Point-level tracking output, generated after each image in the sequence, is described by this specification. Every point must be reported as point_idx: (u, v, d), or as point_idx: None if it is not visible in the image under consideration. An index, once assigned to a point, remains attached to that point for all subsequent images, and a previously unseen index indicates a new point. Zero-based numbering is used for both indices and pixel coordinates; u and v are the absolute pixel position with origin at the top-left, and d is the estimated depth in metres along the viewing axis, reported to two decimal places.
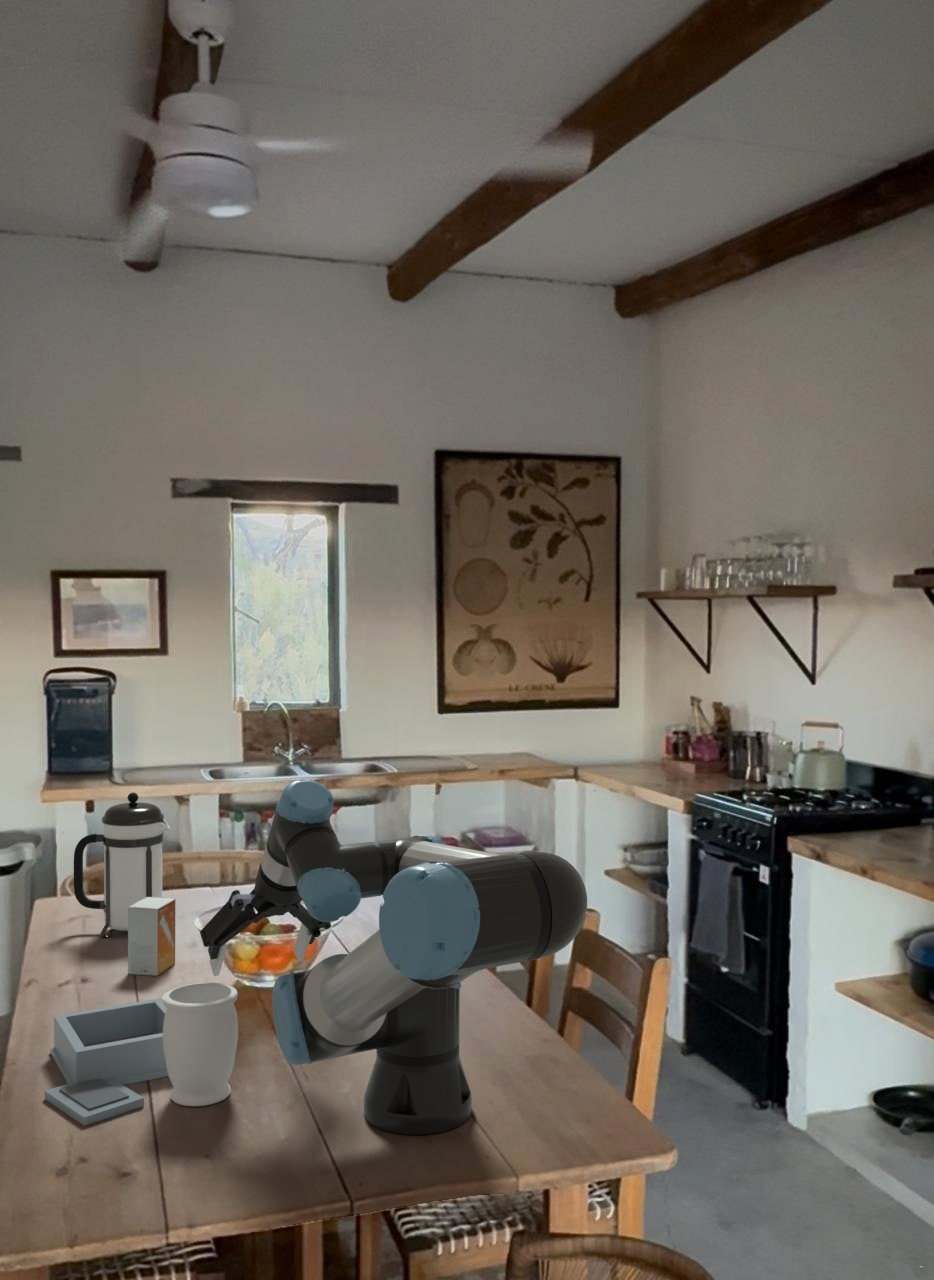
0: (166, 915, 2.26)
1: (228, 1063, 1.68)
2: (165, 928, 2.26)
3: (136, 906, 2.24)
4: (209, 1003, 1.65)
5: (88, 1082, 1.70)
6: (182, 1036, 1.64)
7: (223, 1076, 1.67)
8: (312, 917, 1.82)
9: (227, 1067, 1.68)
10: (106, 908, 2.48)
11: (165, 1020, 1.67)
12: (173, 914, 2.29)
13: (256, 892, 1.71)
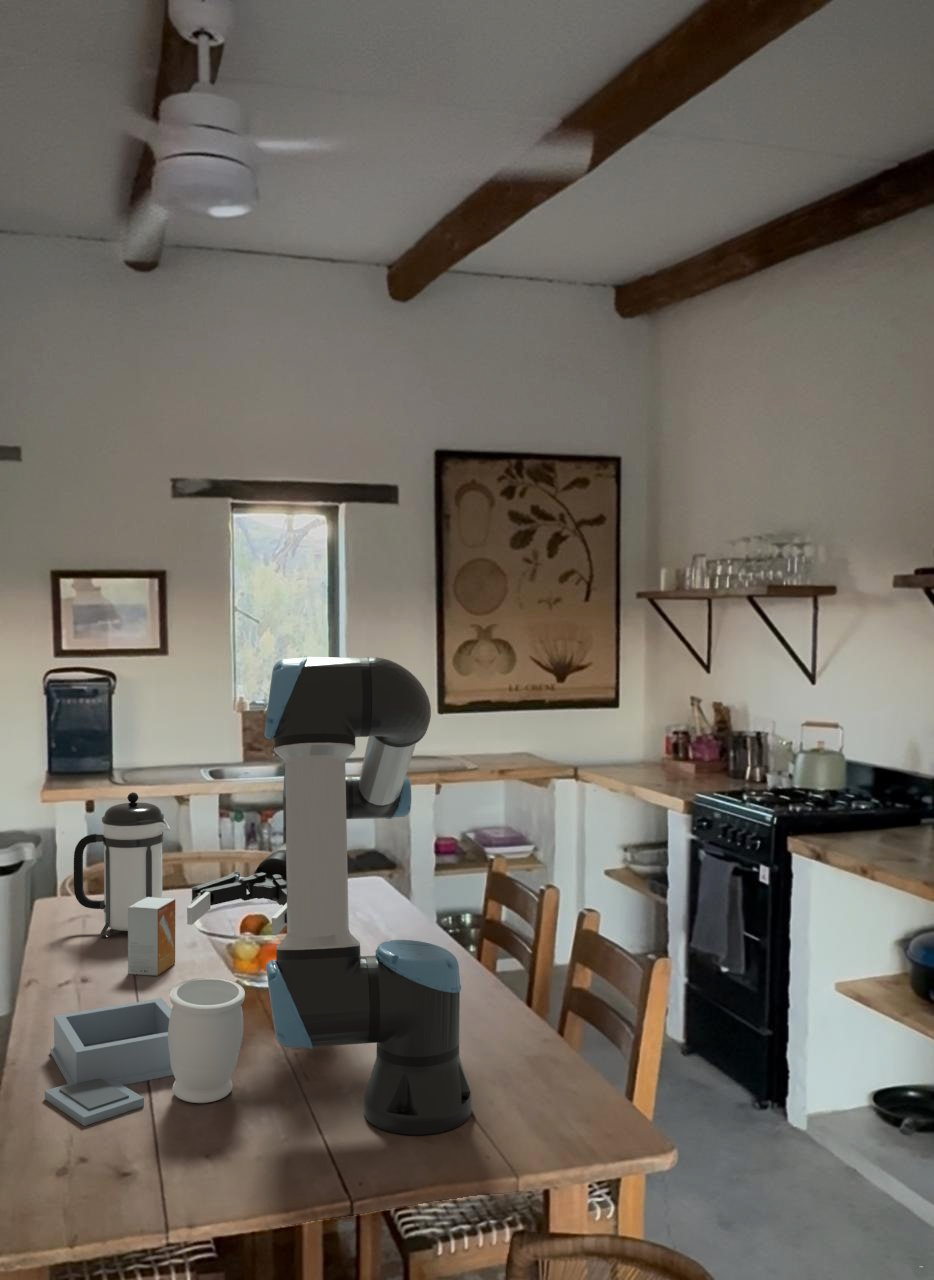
0: (166, 915, 2.26)
1: (232, 1063, 1.68)
2: (165, 928, 2.26)
3: (136, 906, 2.24)
4: (217, 1005, 1.65)
5: (88, 1082, 1.70)
6: (188, 1036, 1.64)
7: (226, 1075, 1.68)
8: None
9: (231, 1066, 1.68)
10: (106, 908, 2.48)
11: (171, 1017, 1.67)
12: (173, 914, 2.29)
13: None
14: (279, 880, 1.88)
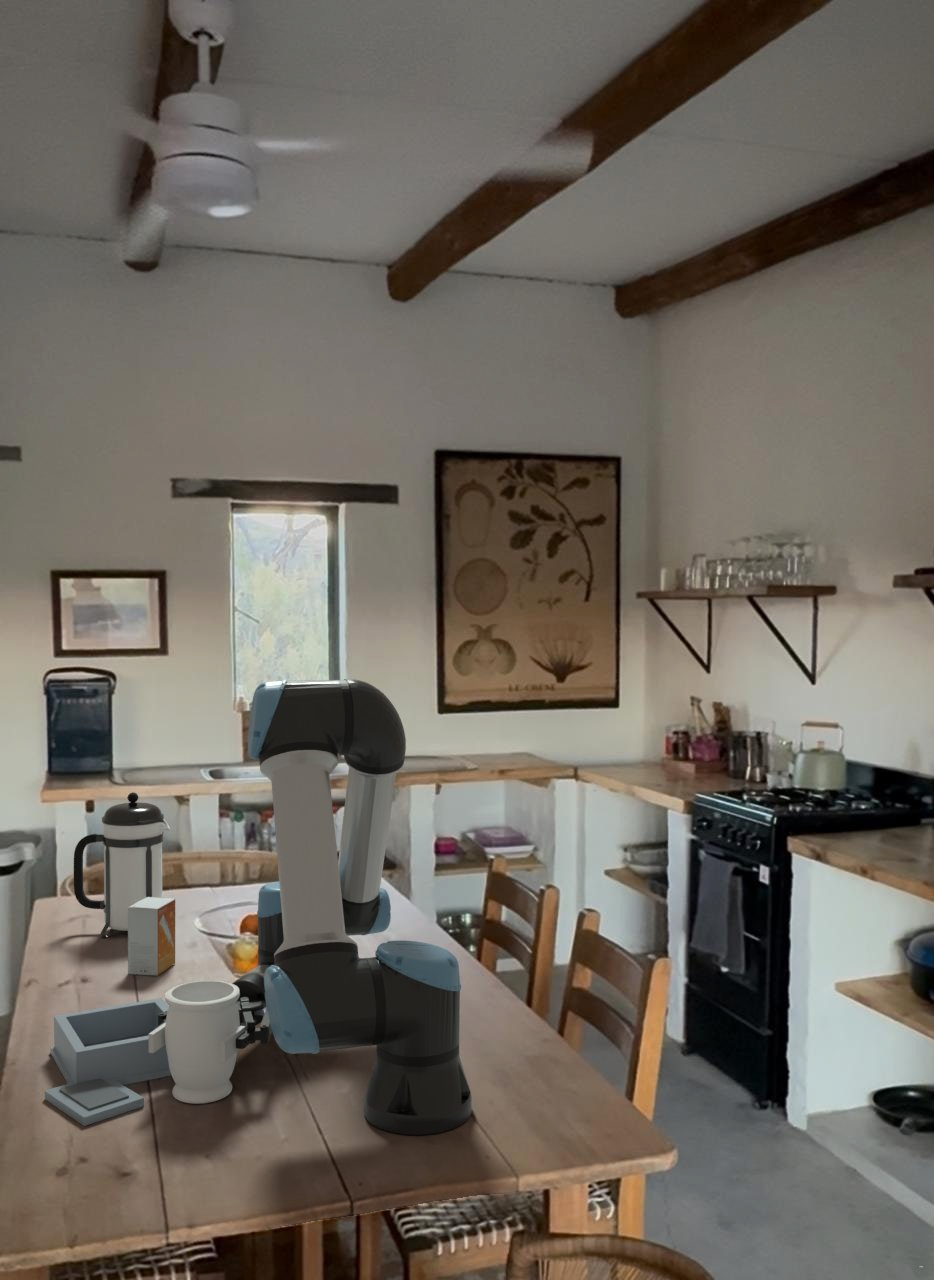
0: (166, 915, 2.26)
1: (228, 1062, 1.68)
2: (165, 928, 2.26)
3: (136, 906, 2.24)
4: (210, 1001, 1.66)
5: (88, 1082, 1.70)
6: (182, 1033, 1.65)
7: (223, 1074, 1.68)
8: None
9: (228, 1066, 1.68)
10: (106, 908, 2.48)
11: (167, 1017, 1.68)
12: (173, 914, 2.29)
13: None
14: (245, 1003, 1.79)
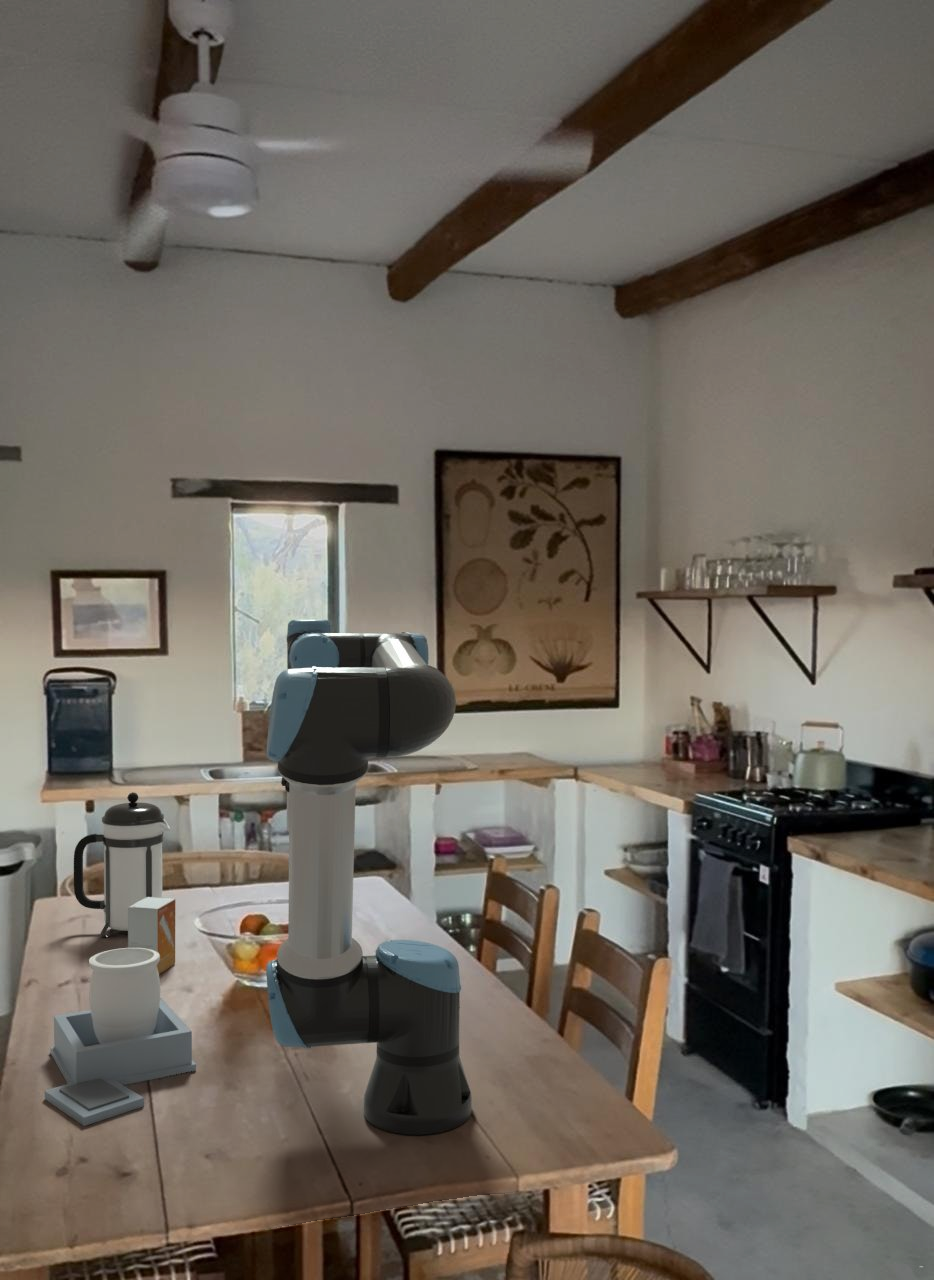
0: (166, 915, 2.26)
1: (148, 1022, 1.80)
2: (165, 928, 2.26)
3: (136, 906, 2.24)
4: (129, 965, 1.78)
5: (88, 1082, 1.70)
6: (104, 995, 1.77)
7: (144, 1034, 1.80)
8: None
9: (148, 1026, 1.80)
10: (106, 908, 2.48)
11: (91, 980, 1.80)
12: (173, 914, 2.29)
13: None
14: None
